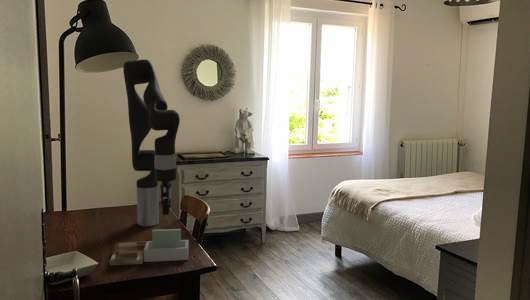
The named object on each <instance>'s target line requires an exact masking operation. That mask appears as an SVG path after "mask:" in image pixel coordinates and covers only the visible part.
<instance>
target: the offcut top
mask: <svg viewBox="0 0 530 300" xmlns="http://www.w3.org/2000/svg"><path fill="white" fill-rule="evenodd" d="M135 242H136V243H124V244H119V254H127V253H137V242H138V241H135Z"/></svg>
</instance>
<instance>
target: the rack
mask: <svg viewBox="0 0 530 300" xmlns="http://www.w3.org/2000/svg"><path fill="white" fill-rule="evenodd" d="M136 242H137V249H138V257H137V260H125V261H115V253H116V251H117V250H119V244H124V243H136ZM146 242H147V241H129V242H128V241H124V242H116V243H115V245H114V246H113V248H114V251H113V253H112V255H111V258H110V259H109V261H108V263H109V266H125V265H127V266H128V265H131V266H132V265H142V264H143V263H144V248H145V245H146Z"/></svg>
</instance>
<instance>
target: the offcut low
mask: <svg viewBox="0 0 530 300" xmlns="http://www.w3.org/2000/svg"><path fill="white" fill-rule="evenodd" d="M137 257H138V249H137V253H127V254H119V250H117V251H116V253H115V261H125V260H137Z"/></svg>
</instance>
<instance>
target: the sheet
mask: <svg viewBox="0 0 530 300" xmlns="http://www.w3.org/2000/svg"><path fill="white" fill-rule="evenodd" d="M181 230H182V228H169V229H168V228H167V229H166V228H165V229H163V228H161V229H152V230H151V237H152V238H151V239H152V240H151V241H152V245H153V249H159V248H181V240H182V234H181V233H182V231H181Z"/></svg>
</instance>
